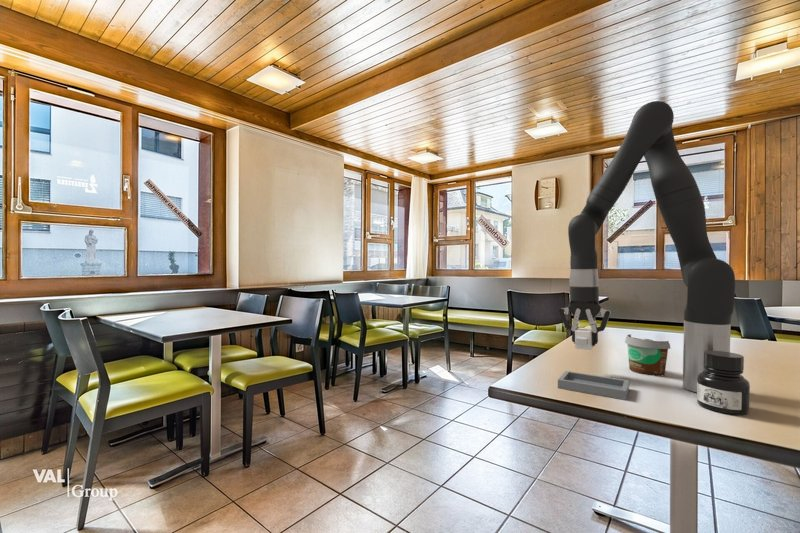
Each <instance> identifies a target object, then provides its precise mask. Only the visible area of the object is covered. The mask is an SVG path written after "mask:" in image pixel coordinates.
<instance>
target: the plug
mask: <svg viewBox="0 0 800 533" xmlns="http://www.w3.org/2000/svg"><path fill="white" fill-rule="evenodd" d="M594 347H595V346H592V329H591V327H590V328H589V327H579V326H578V328H577V330H576V331H575V344H574V349H577V350H583V351H591V350H593V348H594Z"/></svg>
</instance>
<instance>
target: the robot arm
mask: <svg viewBox="0 0 800 533" xmlns="http://www.w3.org/2000/svg"><path fill="white" fill-rule="evenodd" d="M674 119H675V115H674V111H673V108H672V107H671V106H670V105H669V104H668V103H667V102H665V101H661V100H654V101H653V100H652V101H649V102H647V103H645V104H644V105H641V107H640V108H639V109H637V110H636V111H635V113H634V115H633V117H632V120H631V122H630V125H629V128H628V130H627V132H626V135H625V137H624V138H623V141H622V142H621V144H620V146H619V148H618V149H617V152H616V153H615V155H614V157H613V158H612V159H611V161H610V162H609V164H608V165H607V168H606V169H605V170H604V171H603V173H602V175H601V176H600V178H599V179H598V181H597V182H596V184H595V185H594V187H593V188H592V189H591V191H590V193H589V194H588V196H587V199H586V203H585V205H584V207H583V209H582V210H581V212H580V214H578V215H575V216H573V217H572V218H571V220H570V221H569V224H568V229H567V230H568V231H567V234H568V242H569V248H570V249H569V250H570V257H569V258H570V263H569V264H570V269H569V270H570V272H569V281H568V282H569V304H568V306H567V307H561V308H559V309H558V312H559V316H560V318H561V320H562V323H563V326H564V328H565V329H566V330H567V329H568V330H570V331H571V342H572V343H574V345H575V331H576V330H577V329H578V328H579V324H580V321H587V322H588V323H589V326H590V328H591V329H592V346H594V347H595V346H596V345H597V344H598V342H599V338H598V337H599V332H600V333H601V332H603V331H605V329H606V327H607V324H608V322H609V318H610V316H611V314H612V312H611V310H610V309H604V308H602V307H601V305H600V297H599V296H600V294H599V293H600V291H599V289H600V288H599V287H600V284H599V283H600V282H599V273H598V253H597V250H596V235H597V234H598V232H599V230H600V229H601V228H602V226H603V223H604V222H605V220H606V218H607V216H608V214H609V213H610V211H611V210H612V208H614V206H615V204H616V203H617V201H618V200H619V198H620V197H621V196H622V194H623V192H624V191H625V189H626V187H627V186H628V184H629V182H630V180H631V178H632V176H633V174H634V173H635V171H636V169H637V167H638V166H639V164H640V162H641V161H642V159H643V158H644V159H645V162H646V164H647V169H648V174H649V177H650V184H651V186H652V191H653V194H654V196H655V200H656V203H657V207H658V209H659V212H660V214H661V217H662V219H663V221H664V223H665V227H666V229H667V231H668V233H669V235H670V237H671V239H672V242H673V244H674V247H675V250H676V251H675V252H676V254H677V259H678V262H679V268H680V272H681V277H682V281H683V283H684V285H685V286H686V287H687V295H686V296H687V297H686V305H685V306H686V307H685V308H684V312H683V346H682V347H683V352H682V354H683V356H682V358H683V359H682V360H683V361H682V387H683V388H684V389H685V390H688V391H690V392H693V393H697V380H698V375H699V374H700V373H701V372H703V371H704V370H706V369H705V368H704V351H724V352H731V328H732V327H731V322H732V321H731V320H732V315H733V313H734V310H735V309H734V308H735V298H736V295H735V294H736V276H735V272H734V269H733V268H732V266H731V265H730V264H729V263H727V262H726V261H724V260H723V259H719V258H717V255H716V254H715V252H714V249H713V247H712V245H711V242H710V239H709V237H708V231H707V218H706V208H705V203H704V200H703V197H702V194H701V190H700V189H699V186H698V183H697V181H696V178H695V177H694V176H693V174H692V172H691V170H690V169H689V166H687V164H686V163H685V161H684V160H683V158H682V156H681V155H680V152H679V150H678V148H677V144H676V140H675V135H674V131H673V123H674ZM569 312H570V313H571V314H572V316H573V320H572V324H571V322H570V319H569V317H568V314H569ZM599 313H601V318H602V319H601V322H600V325H599V326H598V325H597V321H596V316H598V314H599Z"/></svg>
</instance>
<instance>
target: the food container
mask: <svg viewBox="0 0 800 533" xmlns="http://www.w3.org/2000/svg"><path fill="white" fill-rule="evenodd" d="M624 343H625V344H627V354H628V365H629V366H628V367H629V371H631V372H633V373H636V374H640V375H646V376H653V375H654V377H656V376H657V377H658V376H659V377H662V375H663V376H665V375H666V366H667V361H668V354H669V350H670V349H672V348H671V343H670V341H669V340H666V341H665V340H664V341H662V340H660V341H659V340H652V339H649V338H637V337H632V334H631V333H629V334H626V336H625V340H624Z"/></svg>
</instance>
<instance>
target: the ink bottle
mask: <svg viewBox="0 0 800 533" xmlns="http://www.w3.org/2000/svg"><path fill="white" fill-rule="evenodd" d="M744 363H745V356H744V355H742V354H739V353H736V352H731V351H730V352H724V351H704V368H705V369H706V370H704V371H703V372H701V373H700V374H699V375H698V380H697V392H696V402H697V404H698V405H699V406H701V407H703V408H705V409H708V410H711V411H715V412H719V413H722V414H727V415H746V414H748V413H749V412H750V400H751V399H750V395H751V394H750V393H751V391H750V390H751V385H750V381H749V380H747V379H746V378H745V377H744V376H743V375H742V374H743V373H744V366H745V365H744Z"/></svg>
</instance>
